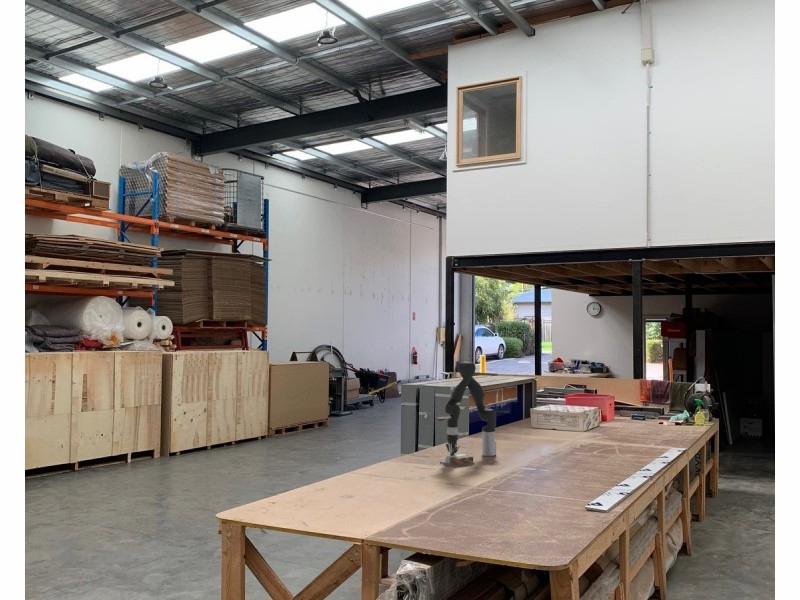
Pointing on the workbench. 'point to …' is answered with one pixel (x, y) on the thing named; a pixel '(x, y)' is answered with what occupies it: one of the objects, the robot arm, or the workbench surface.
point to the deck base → (455, 465)
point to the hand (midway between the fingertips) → (452, 458)
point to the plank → (453, 456)
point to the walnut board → (461, 460)
